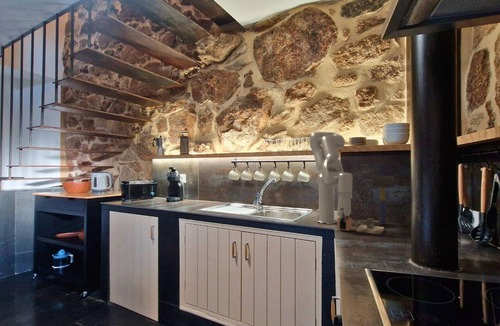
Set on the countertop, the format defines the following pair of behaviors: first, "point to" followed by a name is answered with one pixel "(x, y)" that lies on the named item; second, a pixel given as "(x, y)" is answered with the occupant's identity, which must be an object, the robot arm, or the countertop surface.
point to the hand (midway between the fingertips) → (344, 227)
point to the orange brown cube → (348, 223)
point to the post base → (375, 230)
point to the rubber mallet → (383, 192)
